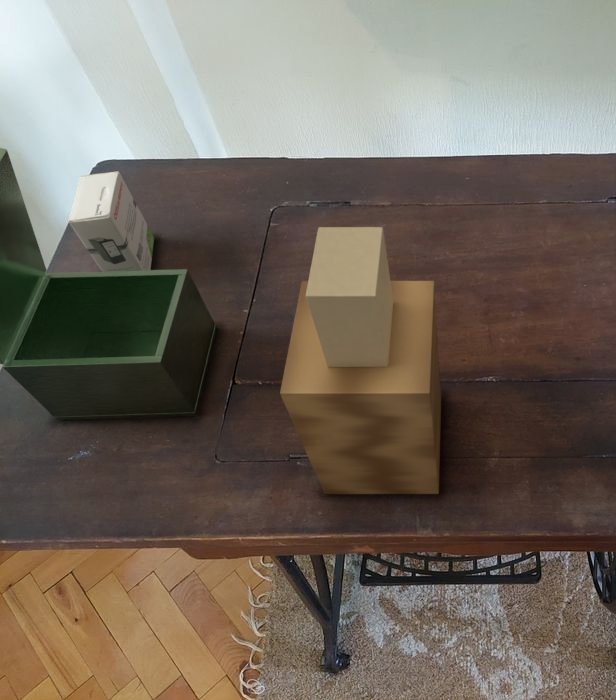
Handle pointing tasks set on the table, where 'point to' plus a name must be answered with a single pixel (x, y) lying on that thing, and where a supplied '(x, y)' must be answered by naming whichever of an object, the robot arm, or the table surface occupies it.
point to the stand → (370, 403)
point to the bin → (115, 345)
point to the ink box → (111, 223)
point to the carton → (351, 296)
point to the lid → (15, 258)
